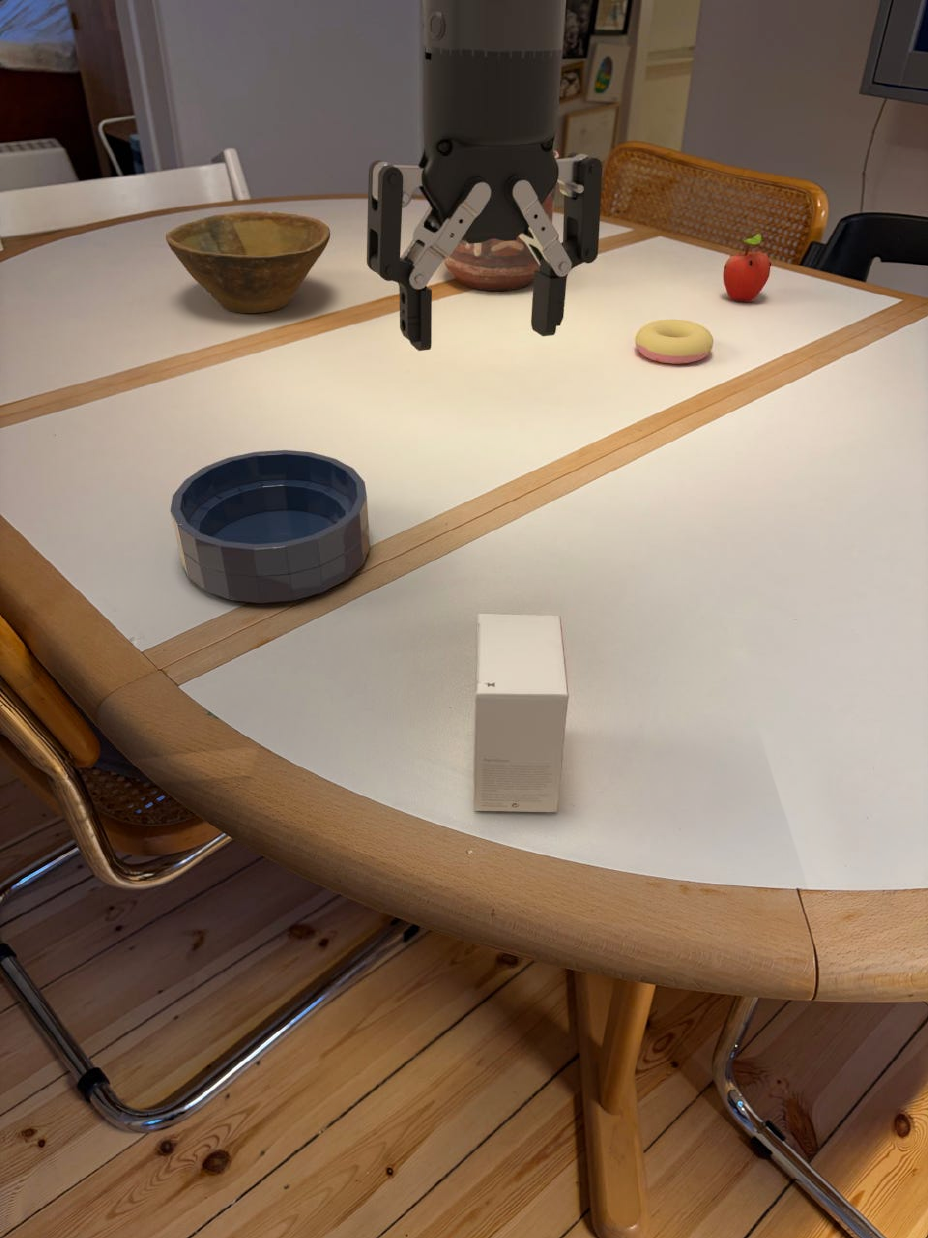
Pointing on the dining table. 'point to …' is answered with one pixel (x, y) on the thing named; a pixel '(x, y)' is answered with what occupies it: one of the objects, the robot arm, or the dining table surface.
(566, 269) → the robot arm
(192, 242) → the bowl
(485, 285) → the pottery
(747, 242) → the apple
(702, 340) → the donut
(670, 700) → the dining table surface
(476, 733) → the small box
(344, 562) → the glazed bowl
